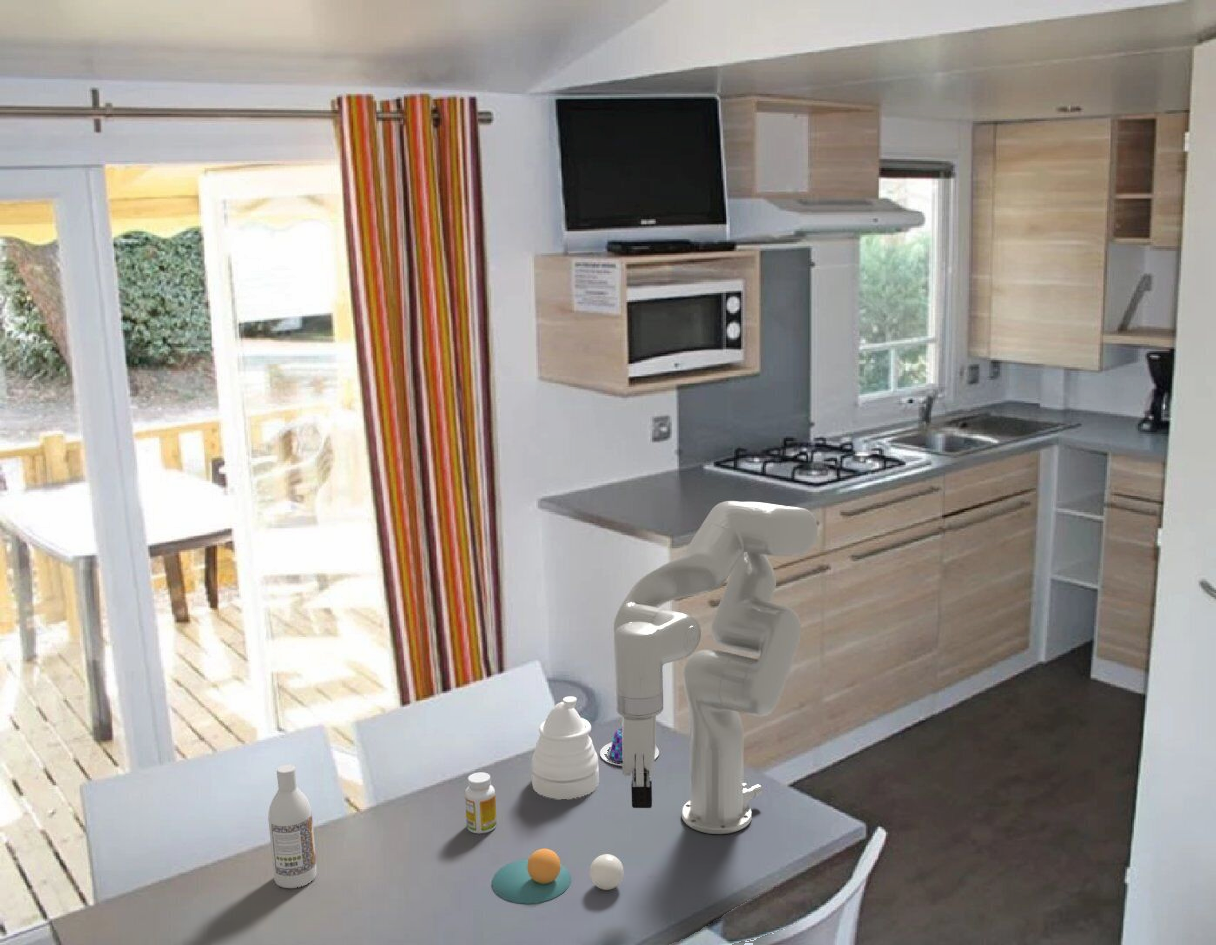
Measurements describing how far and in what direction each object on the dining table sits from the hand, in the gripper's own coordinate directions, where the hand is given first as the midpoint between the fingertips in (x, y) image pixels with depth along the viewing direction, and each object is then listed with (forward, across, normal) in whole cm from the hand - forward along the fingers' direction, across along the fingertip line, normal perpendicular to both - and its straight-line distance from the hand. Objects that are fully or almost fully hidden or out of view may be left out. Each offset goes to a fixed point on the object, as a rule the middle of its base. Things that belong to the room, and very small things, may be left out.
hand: (642, 805), depth 192 cm
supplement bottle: (+14, -17, -30) cm, 37 cm away
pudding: (+15, -46, -4) cm, 49 cm away
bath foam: (+14, 0, -58) cm, 60 cm away
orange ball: (+11, 0, -16) cm, 20 cm away
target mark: (+14, 0, -19) cm, 23 cm away
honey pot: (+14, -34, -16) cm, 40 cm away
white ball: (+11, +2, -6) cm, 13 cm away
